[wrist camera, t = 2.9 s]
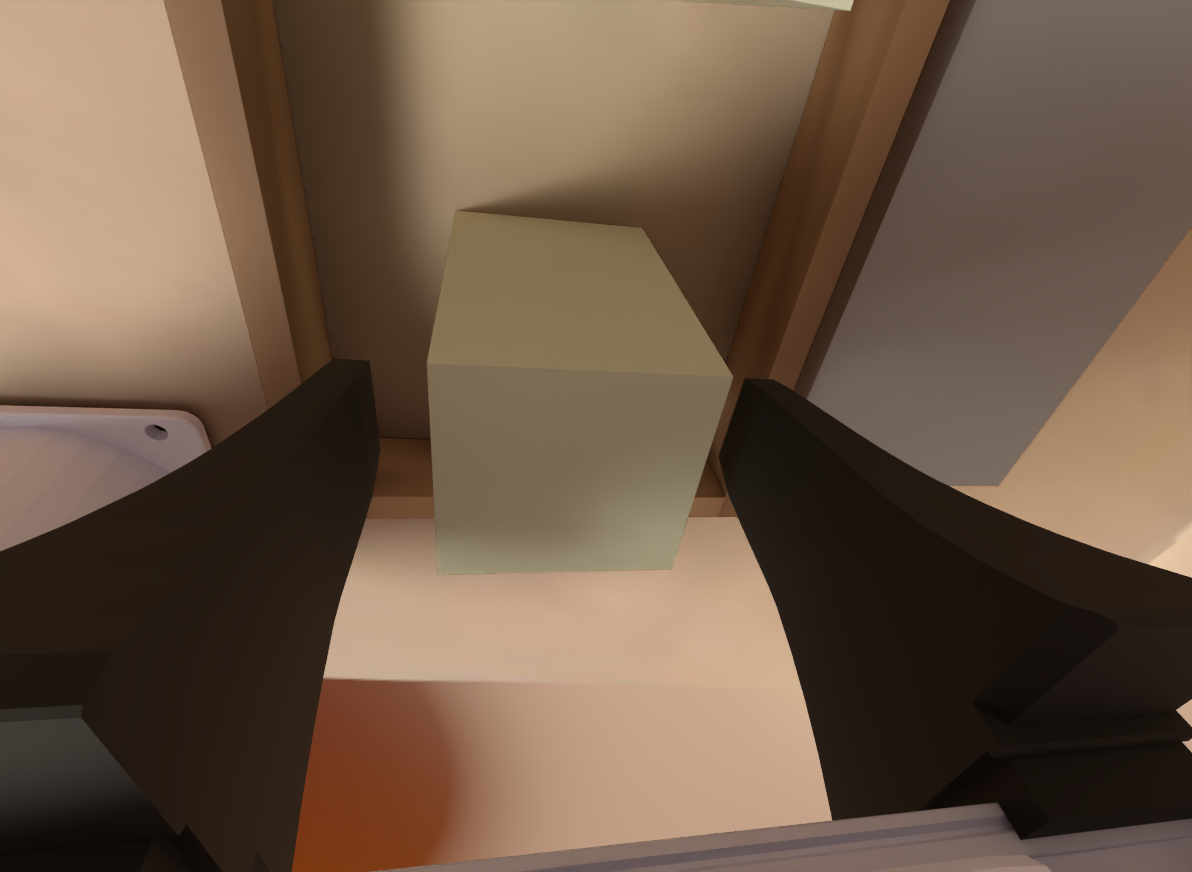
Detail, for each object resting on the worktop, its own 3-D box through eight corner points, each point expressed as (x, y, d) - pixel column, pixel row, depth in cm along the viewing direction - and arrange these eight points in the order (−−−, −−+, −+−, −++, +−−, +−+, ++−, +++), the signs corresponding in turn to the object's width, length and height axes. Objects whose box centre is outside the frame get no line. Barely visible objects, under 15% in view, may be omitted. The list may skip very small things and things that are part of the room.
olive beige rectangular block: (458, 381, 16) (438, 581, 11) (455, 210, 13) (426, 363, 8) (613, 387, 17) (668, 575, 11) (641, 227, 14) (733, 376, 9)
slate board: (762, 469, 20) (771, 484, 19) (975, -60, 11) (1002, -63, 11) (983, 471, 21) (998, 485, 21) (1309, 13, 13) (1349, 14, 13)
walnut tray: (319, 458, 17) (296, 518, 15) (-10, -1157, 5) (-306, -1826, 3) (717, 463, 19) (742, 516, 17) (1094, -647, 8) (1297, -865, 6)
